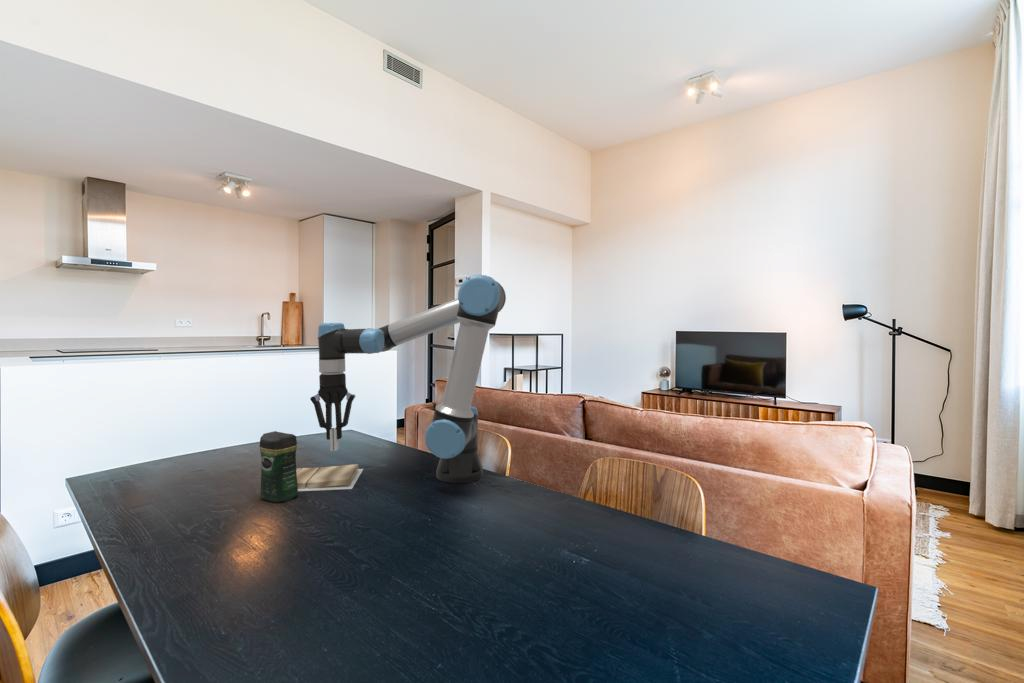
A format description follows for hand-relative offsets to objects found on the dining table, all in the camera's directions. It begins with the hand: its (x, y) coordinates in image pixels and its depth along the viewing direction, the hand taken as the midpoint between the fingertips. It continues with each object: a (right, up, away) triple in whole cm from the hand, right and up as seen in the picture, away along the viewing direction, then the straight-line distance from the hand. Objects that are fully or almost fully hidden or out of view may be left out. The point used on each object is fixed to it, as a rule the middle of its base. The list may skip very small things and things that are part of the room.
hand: (334, 449), depth 143 cm
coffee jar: (-11, -11, -12) cm, 20 cm away
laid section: (-14, -10, +2) cm, 17 cm away
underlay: (-7, -11, +3) cm, 13 cm away
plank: (-2, -10, +4) cm, 11 cm away
